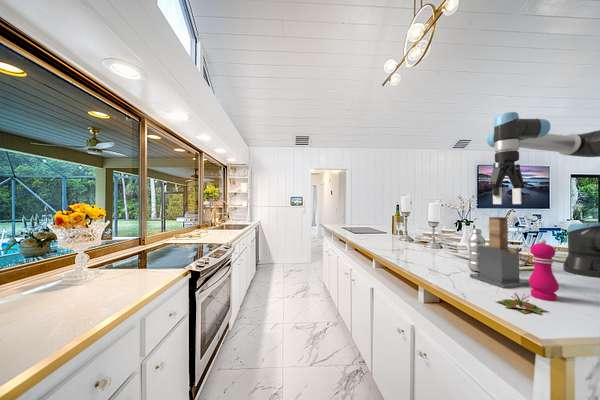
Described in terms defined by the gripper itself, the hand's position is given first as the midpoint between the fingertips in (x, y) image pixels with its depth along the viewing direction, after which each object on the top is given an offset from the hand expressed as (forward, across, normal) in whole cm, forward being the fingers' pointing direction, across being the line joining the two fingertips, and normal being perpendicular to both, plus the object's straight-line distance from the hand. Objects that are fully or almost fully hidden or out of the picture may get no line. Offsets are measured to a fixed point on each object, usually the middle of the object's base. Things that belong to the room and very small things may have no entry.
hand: (507, 204), depth 97 cm
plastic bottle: (+32, -7, -16) cm, 37 cm away
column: (+30, 0, -3) cm, 30 cm away
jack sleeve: (+32, 0, -3) cm, 32 cm away
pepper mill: (+32, +6, +13) cm, 35 cm away
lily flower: (+33, +23, +14) cm, 42 cm away
